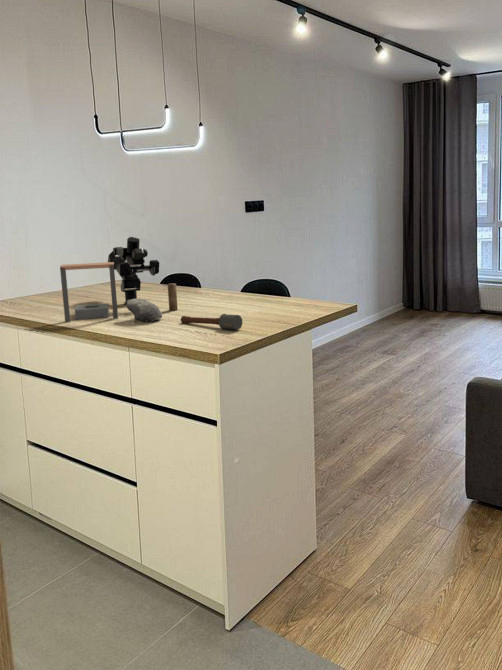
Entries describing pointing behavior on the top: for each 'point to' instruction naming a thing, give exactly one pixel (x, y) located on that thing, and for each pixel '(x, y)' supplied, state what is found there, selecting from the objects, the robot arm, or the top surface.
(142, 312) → the rock
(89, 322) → the top surface
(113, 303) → the socket stand
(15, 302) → the top surface
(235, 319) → the mallet
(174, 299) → the peg
